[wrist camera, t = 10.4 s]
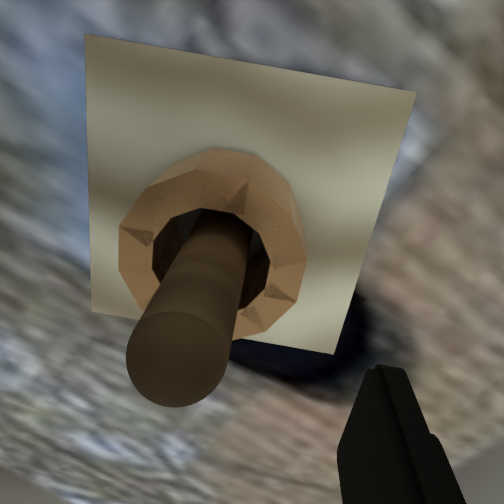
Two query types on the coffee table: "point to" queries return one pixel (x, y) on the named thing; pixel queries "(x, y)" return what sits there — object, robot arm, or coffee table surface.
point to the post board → (248, 122)
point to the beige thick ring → (227, 200)
